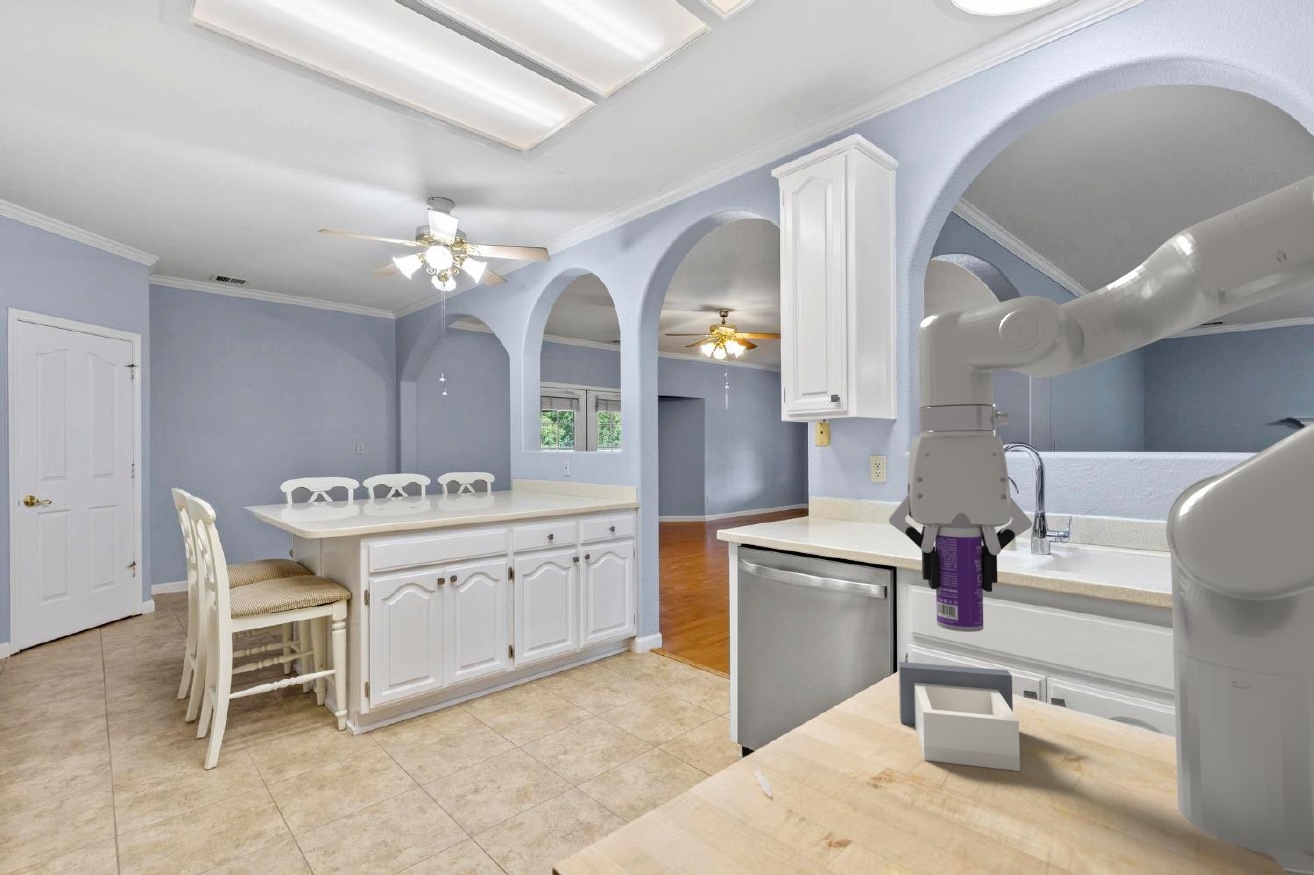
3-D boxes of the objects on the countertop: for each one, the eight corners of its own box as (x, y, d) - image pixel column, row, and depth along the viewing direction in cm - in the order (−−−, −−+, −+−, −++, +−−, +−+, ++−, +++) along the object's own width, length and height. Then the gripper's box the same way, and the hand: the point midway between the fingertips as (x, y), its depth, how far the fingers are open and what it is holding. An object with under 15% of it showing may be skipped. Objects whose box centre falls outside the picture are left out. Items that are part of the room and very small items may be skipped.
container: (989, 632, 68) (986, 492, 68) (942, 630, 69) (939, 491, 69) (976, 621, 72) (973, 489, 73) (932, 619, 73) (930, 489, 73)
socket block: (998, 733, 73) (997, 689, 73) (1020, 771, 64) (1018, 721, 64) (914, 724, 75) (914, 682, 76) (924, 760, 67) (923, 712, 67)
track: (1009, 738, 74) (1007, 670, 75) (1063, 831, 56) (1061, 740, 56) (900, 727, 78) (898, 661, 78) (918, 811, 60) (916, 725, 60)
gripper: (1031, 424, 72) (1035, 585, 72) (874, 426, 77) (876, 578, 76) (1052, 420, 65) (1056, 600, 64) (877, 424, 70) (880, 591, 69)
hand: (959, 586), depth 70 cm, fingers closed on container, 4 cm apart
